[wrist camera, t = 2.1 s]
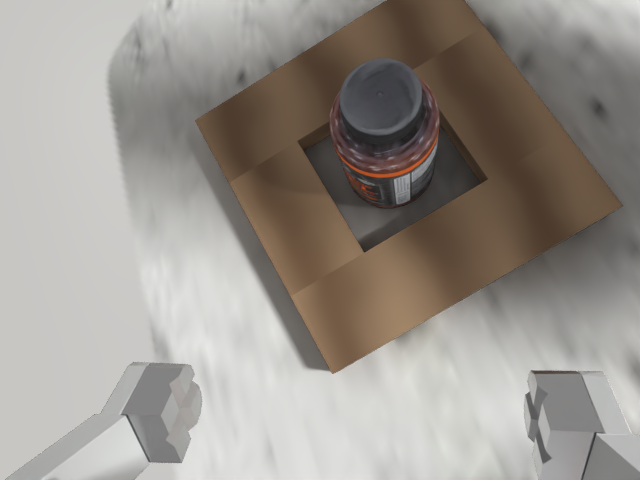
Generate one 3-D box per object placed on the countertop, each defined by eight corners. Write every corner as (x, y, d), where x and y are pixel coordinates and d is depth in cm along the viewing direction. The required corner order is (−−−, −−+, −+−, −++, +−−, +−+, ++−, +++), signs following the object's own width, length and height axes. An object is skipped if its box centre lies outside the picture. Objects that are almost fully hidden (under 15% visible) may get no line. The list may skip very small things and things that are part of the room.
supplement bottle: (330, 171, 36) (292, 98, 25) (390, 112, 36) (378, 13, 25) (390, 228, 34) (378, 177, 24) (453, 166, 34) (470, 87, 24)
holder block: (437, -14, 37) (439, -33, 35) (610, 213, 32) (622, 205, 30) (206, 131, 38) (194, 120, 36) (337, 371, 33) (332, 374, 31)
